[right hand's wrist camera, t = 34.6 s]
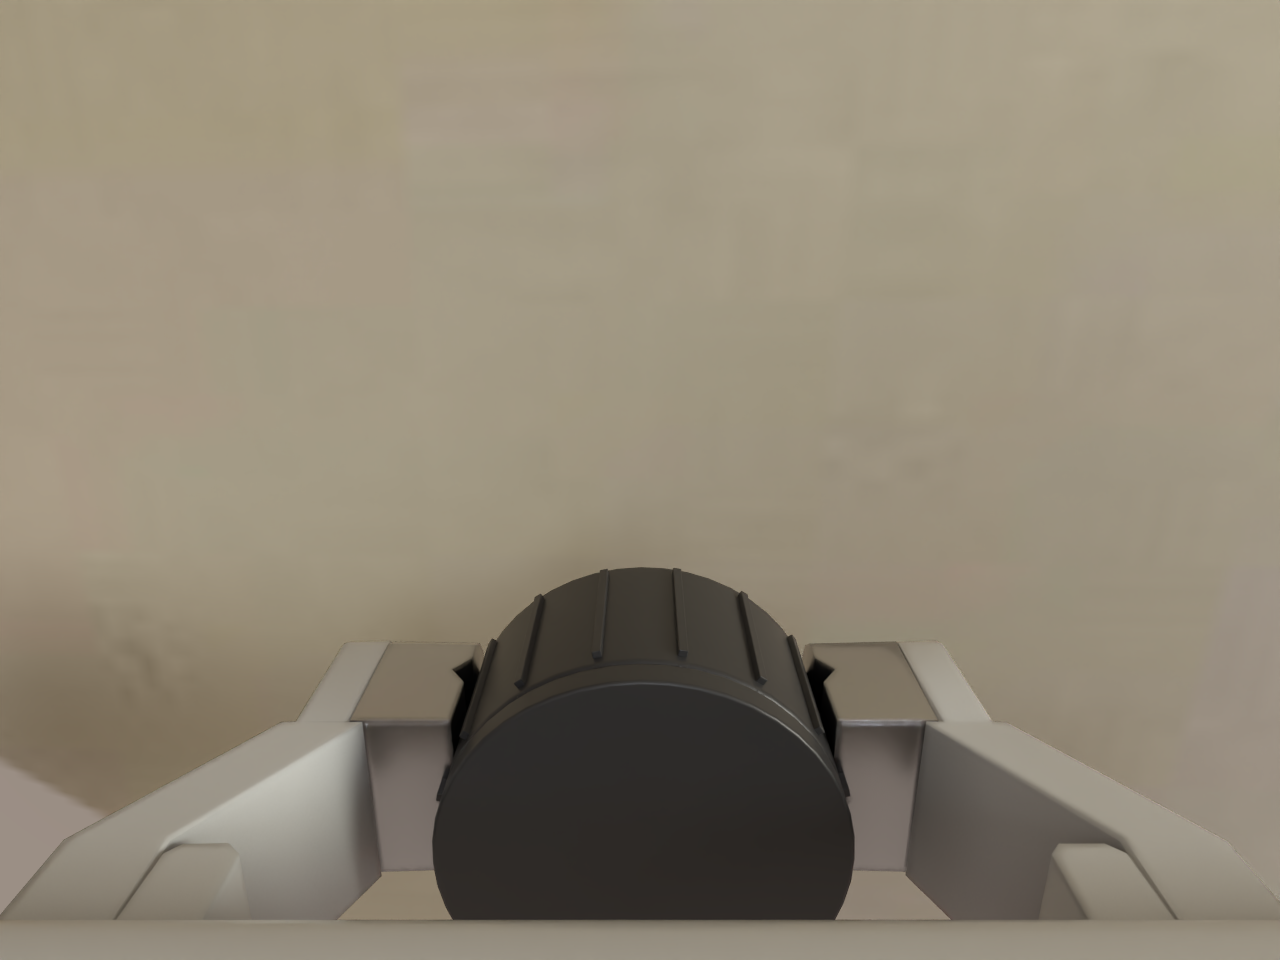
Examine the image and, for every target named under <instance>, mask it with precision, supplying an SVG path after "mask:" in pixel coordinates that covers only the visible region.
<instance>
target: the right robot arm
mask: <svg viewBox="0 0 1280 960" xmlns="http://www.w3.org/2000/svg"><path fill="white" fill-rule="evenodd" d="M483 660H484V655H483V650H482V647H481V645H480V643H450V642H397V641H395V642H391V641H351V642H348V643H345V644H344V645H343V646H342V647H341V648H340V650H339V652H338V653H337V655H336V657H335V658H334V660H333V661H332V663H331V665H330V666H329V668H328V670H327V671H326V673H325V674H324V676H323V678H322V679H321V681H320V683H319V684H318V686H317V687H316V689H315V691H314V692H313V694H312V695H311V697H310V699H309V700H308V702H307V704H306V705H305V707H304V708H303V710H302V712H301V713H300V715H299V717H298V718H297V720H296V721H295V722H280V723H279V724H277V725H275V726H273V727H271V728H269V729H268V730H266V731H264V732H262V733H260V734H258V735H256V736H255V737H253V738H251V739H249V740H247V741H245V742H244V743H242V744H240V745H238V746H236V747H234V748H232V749H231V750H229V751H227V752H225V753H223V754H221V755H220V756H218V757H216V758H214V759H212V760H210V761H208V762H207V763H205V764H203V765H201V766H199V767H197V768H196V769H194V770H192V771H190V772H188V773H186V774H184V775H183V776H181V777H179V778H177V779H175V780H173V781H172V782H170V783H168V784H166V785H164V786H162V787H160V788H159V789H157V790H155V791H153V792H151V793H149V794H148V795H146V796H144V797H142V798H140V799H138V800H136V801H135V802H133V803H131V804H129V805H127V806H125V807H124V808H122V809H120V810H118V811H116V812H114V813H112V814H111V815H109V816H107V817H105V818H103V819H101V820H100V821H98V822H96V823H94V824H92V825H90V826H88V827H87V828H85V829H83V830H81V831H79V832H77V833H76V834H74V835H72V836H70V837H68V838H66V839H64V840H63V841H62V843H61V844H60V845H59V846H58V847H57V849H56V850H55V851H54V852H53V853H52V854H51V856H50V857H49V858H48V859H47V860H46V862H45V863H44V864H43V865H42V866H41V867H40V869H39V870H38V871H37V872H36V873H35V874H34V876H33V877H32V878H31V879H30V880H29V882H28V883H27V884H26V885H25V886H24V887H23V889H22V890H21V891H20V892H19V893H18V894H17V896H16V897H15V898H14V899H13V900H12V902H11V903H10V904H9V905H8V906H7V907H6V909H5V910H4V911H3V912H2V913H1V915H0V960H1280V902H1279V901H1278V899H1277V898H1276V897H1275V896H1274V895H1273V894H1272V892H1271V891H1270V890H1269V889H1268V888H1267V887H1266V885H1265V884H1264V883H1263V882H1262V881H1261V880H1260V878H1259V877H1258V876H1257V875H1256V874H1255V873H1254V871H1253V870H1252V869H1251V868H1250V867H1249V866H1248V864H1247V863H1246V862H1245V861H1244V860H1243V859H1242V857H1241V856H1240V855H1239V854H1238V853H1237V852H1236V850H1235V849H1234V848H1233V847H1232V846H1231V845H1230V843H1229V842H1228V841H1226V840H1225V839H1223V838H1221V837H1219V836H1217V835H1215V834H1213V833H1212V832H1210V831H1208V830H1206V829H1204V828H1202V827H1200V826H1199V825H1197V824H1195V823H1193V822H1191V821H1189V820H1187V819H1186V818H1184V817H1182V816H1180V815H1178V814H1176V813H1174V812H1173V811H1171V810H1169V809H1167V808H1165V807H1163V806H1161V805H1160V804H1158V803H1156V802H1154V801H1152V800H1150V799H1148V798H1147V797H1145V796H1143V795H1141V794H1139V793H1137V792H1135V791H1134V790H1132V789H1130V788H1128V787H1126V786H1124V785H1123V784H1121V783H1119V782H1117V781H1115V780H1113V779H1111V778H1110V777H1108V776H1106V775H1104V774H1102V773H1100V772H1098V771H1097V770H1095V769H1093V768H1091V767H1089V766H1087V765H1085V764H1084V763H1082V762H1080V761H1078V760H1076V759H1074V758H1072V757H1071V756H1069V755H1067V754H1065V753H1063V752H1061V751H1059V750H1058V749H1056V748H1054V747H1052V746H1050V745H1048V744H1046V743H1045V742H1043V741H1041V740H1039V739H1037V738H1035V737H1033V736H1032V735H1030V734H1028V733H1026V732H1024V731H1022V730H1020V729H1019V728H1017V727H1015V726H1013V725H1011V724H1009V723H1007V722H992V720H991V719H990V717H989V716H988V714H987V712H986V711H985V709H984V708H983V706H982V705H981V703H980V701H979V700H978V698H977V697H976V695H975V694H974V692H973V690H972V689H971V687H970V686H969V684H968V683H967V681H966V680H965V678H964V676H963V675H962V673H961V672H960V670H959V669H958V667H957V665H956V664H955V662H954V661H953V659H952V658H951V656H950V654H949V653H948V651H947V650H946V648H945V647H944V645H943V644H942V643H940V642H938V641H936V640H933V641H909V642H862V643H821V644H807V645H805V648H804V652H803V657H802V662H803V664H804V667H805V670H806V673H807V676H808V679H809V683H810V686H811V689H812V692H813V695H814V698H815V701H816V704H817V707H818V711H820V712H821V716H820V718H821V721H822V724H823V727H824V730H825V734H826V737H827V740H828V743H829V746H830V749H831V753H832V756H833V759H834V762H835V765H836V768H837V771H838V773H844V774H845V778H846V781H847V784H848V787H849V790H850V797H846V800H847V803H848V806H849V809H850V813H851V817H852V823H853V829H854V835H855V860H854V866H853V870H867V871H903V872H906V876H907V877H908V878H909V879H910V880H911V881H912V882H913V883H914V884H915V885H916V886H917V887H918V888H919V889H920V890H921V891H922V892H923V893H924V894H926V895H927V896H928V897H929V898H930V899H931V900H932V901H933V902H934V903H935V904H936V905H937V906H938V907H939V908H940V909H941V910H942V911H943V912H944V913H945V914H946V915H947V916H948V917H949V918H950V919H951V920H337V919H338V918H339V917H340V916H341V915H342V914H343V913H344V912H345V911H346V910H347V909H348V908H349V907H350V906H351V905H352V904H353V903H354V902H355V901H356V900H357V899H358V898H359V897H360V896H361V895H363V894H364V893H365V892H366V891H367V890H368V889H369V888H370V887H371V886H372V885H373V884H374V883H375V882H376V881H377V880H378V879H379V878H380V877H381V872H384V871H419V870H434V866H433V852H432V837H433V829H434V821H435V816H436V813H437V810H438V806H439V803H440V802H439V801H436V797H437V792H438V789H439V786H440V783H441V780H442V778H443V779H447V778H448V774H449V771H450V768H451V765H452V762H453V758H454V755H455V752H456V749H457V746H458V743H459V739H460V737H459V735H460V732H461V729H462V726H463V723H464V720H465V717H466V713H467V710H468V707H469V704H470V701H471V698H472V694H473V691H474V688H475V685H476V682H477V679H478V676H479V672H480V669H481V666H482V663H483Z"/></svg>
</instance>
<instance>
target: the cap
mask: <svg viewBox="0 0 1280 960" xmlns="http://www.w3.org/2000/svg"><path fill="white" fill-rule="evenodd" d="M820 716H821V712H820V711H818V707H817V704H816V701H815V698H814V695H813V692H812V689H811V686H810V683H809V679H808V676H807V673H806V670H805V667H804V664H803V662H802V658H801V655H800V652H799V649H798V646H797V642H796V639H795V638H794V637H793V635H790V636H787V635H786V633H785V632H784V631H783V629H782V628H781V627H780V626H779V625H778V624H777V623H776V622H775V621H774V620H773V619H772V618H771V617H770V615H769V614H768V613H766V612H765V611H764V610H763V609H761V608H760V607H759V606H758V605H756V604H755V603H754V602H752V601H751V600H750V599H748V595H747V594H746V593H744V592H742V591H741V592H740V593H738V592H736V591H735V590H733V589H731V588H729V587H727V586H725V585H722V584H720V583H718V582H715V581H713V580H711V579H708V578H705V577H702V576H698V575H695V574H691V573H688V572H683V571H681V569H677V568H673V570H671V569H665V568H644V567H638V568H625V569H615V570H609V571H608V569H604V570H600V573H595V574H591V575H588V576H585V577H582V578H579V579H576V580H573V581H571V582H569V583H567V584H564V585H562V586H560V587H558V588H556V589H554V590H552V591H550V592H548V593H547V594H545V595H544V596H542V595H541V594H539V595H538V596H536V597H535V599H534V602H533V603H531V604H530V605H529V606H528V607H527V608H525V609H524V610H523V611H522V612H521V613H520V614H518V615H517V616H516V617H515V618H514V619H513V620H512V622H511V623H510V624H509V625H508V626H507V627H506V628H505V629H504V630H503V631H502V633H501V634H500V636H499V637H498V639H497V640H494V639H491V641H490V642H489V644H488V647H487V650H486V654H485V657H484V660H483V663H482V666H481V669H480V672H479V676H478V679H477V682H476V685H475V688H474V691H473V694H472V698H471V701H470V704H469V707H468V710H467V713H466V717H465V720H464V723H463V726H462V729H461V732H460V735H459V737H460V739H459V743H458V746H457V749H456V752H455V755H454V758H453V762H452V765H451V768H450V771H449V774H448V778H447V779H443V778H442V780H441V783H440V786H439V789H438V792H437V797H436V801H439V802H440V803H439V806H438V810H437V813H436V816H435V821H434V829H433V837H432V852H433V866H434V870H435V875H436V880H437V885H438V888H439V891H440V893H441V896H442V898H443V901H444V904H445V906H446V908H447V910H448V912H449V914H450V915H451V917H452V919H453V920H835V919H836V917H837V915H838V913H839V911H840V909H841V907H842V905H843V903H844V900H845V897H846V894H847V891H848V888H849V885H850V882H851V878H852V872H853V866H854V860H855V835H854V829H853V823H852V817H851V813H850V809H849V806H848V803H847V800H846V797H850V790H849V787H848V784H847V781H846V778H845V774H844V773H838V771H837V768H836V765H835V762H834V759H833V756H832V753H831V749H830V746H829V743H828V740H827V737H826V734H825V730H824V727H823V724H822V721H821V718H820Z"/></svg>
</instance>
